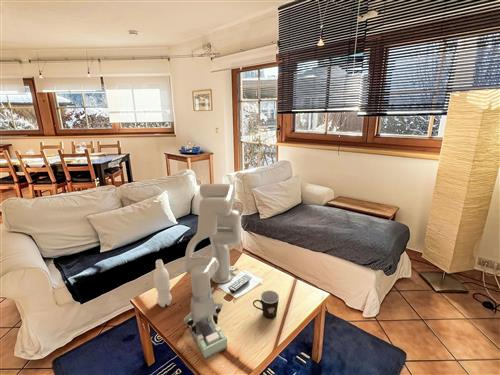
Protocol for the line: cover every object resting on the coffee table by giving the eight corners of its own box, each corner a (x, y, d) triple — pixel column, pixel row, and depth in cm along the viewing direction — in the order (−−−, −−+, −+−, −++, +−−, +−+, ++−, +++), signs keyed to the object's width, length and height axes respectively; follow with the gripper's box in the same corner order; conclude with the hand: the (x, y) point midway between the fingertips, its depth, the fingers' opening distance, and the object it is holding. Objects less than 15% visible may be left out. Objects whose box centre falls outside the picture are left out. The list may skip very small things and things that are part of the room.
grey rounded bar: (193, 320, 124) (192, 312, 123) (203, 316, 127) (202, 307, 125) (209, 351, 109) (208, 342, 107) (220, 345, 111) (219, 336, 110)
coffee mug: (280, 309, 131) (280, 292, 128) (276, 322, 123) (276, 305, 120) (257, 304, 135) (257, 287, 131) (252, 316, 127) (252, 299, 124)
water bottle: (159, 310, 132) (152, 266, 124) (156, 301, 138) (150, 259, 130) (173, 305, 135) (168, 262, 127) (170, 296, 141) (165, 255, 134)
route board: (208, 316, 128) (208, 307, 126) (227, 347, 111) (226, 338, 110) (188, 325, 123) (187, 316, 121) (204, 359, 106) (203, 349, 105)
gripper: (217, 282, 119) (219, 313, 124) (178, 296, 111) (183, 329, 116) (224, 291, 113) (226, 324, 118) (184, 308, 105) (188, 342, 110)
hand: (205, 326), depth 117 cm, fingers open, 9 cm apart
